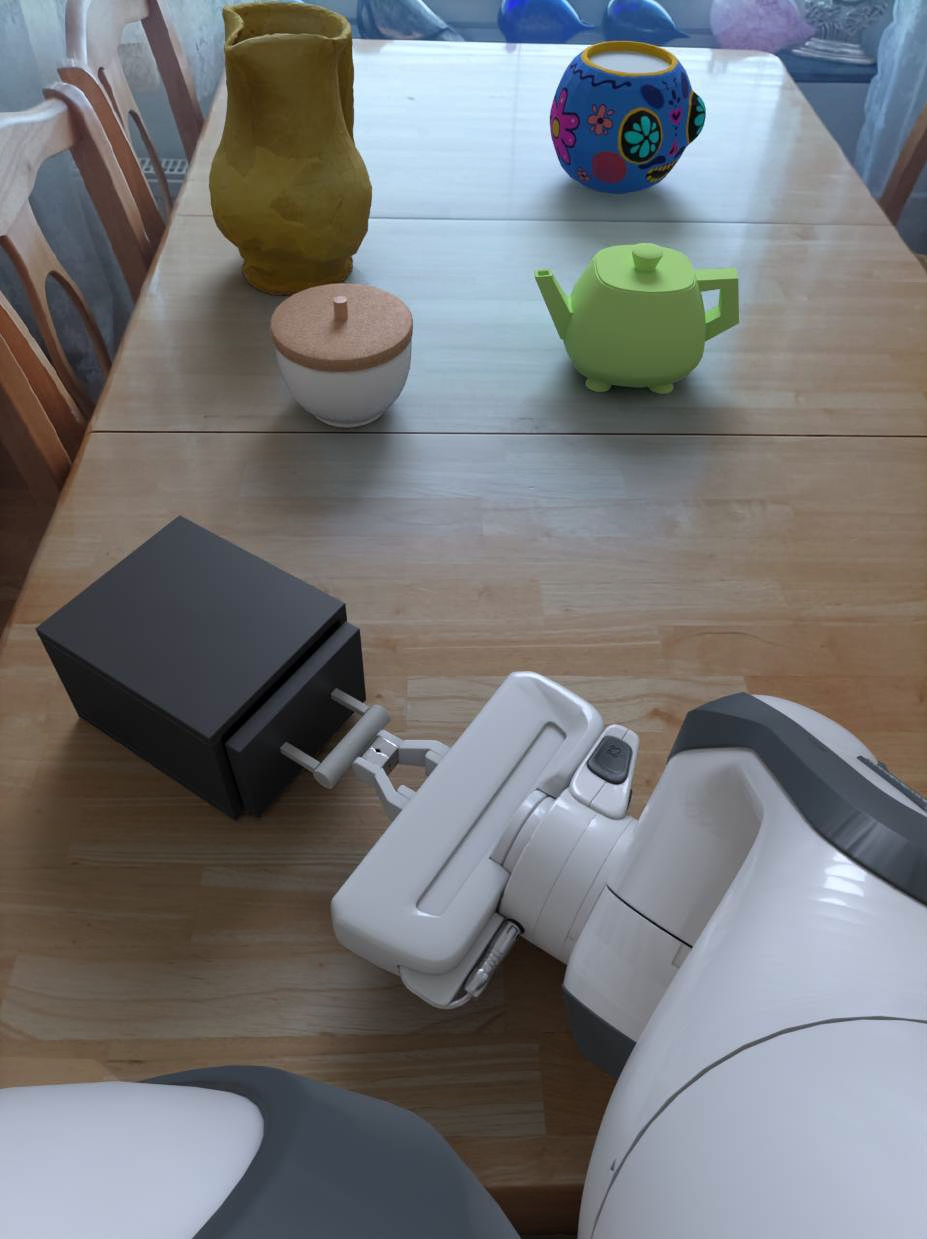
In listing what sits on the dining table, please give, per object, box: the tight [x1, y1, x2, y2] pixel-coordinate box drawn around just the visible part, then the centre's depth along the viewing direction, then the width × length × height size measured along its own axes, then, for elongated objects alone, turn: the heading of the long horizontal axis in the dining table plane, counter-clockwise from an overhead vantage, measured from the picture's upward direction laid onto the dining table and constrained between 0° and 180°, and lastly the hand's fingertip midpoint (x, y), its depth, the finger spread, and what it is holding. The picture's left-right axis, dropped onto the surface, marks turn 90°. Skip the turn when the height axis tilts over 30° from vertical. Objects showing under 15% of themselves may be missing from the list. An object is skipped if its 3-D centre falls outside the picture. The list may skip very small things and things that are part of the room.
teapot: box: [533, 242, 740, 395], centre depth 90 cm, size 20×13×13 cm
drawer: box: [220, 620, 392, 820], centre depth 61 cm, size 18×11×8 cm, turn 57°
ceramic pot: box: [549, 40, 707, 195], centre depth 116 cm, size 18×18×15 cm
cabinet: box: [34, 514, 348, 822], centre depth 63 cm, size 15×13×10 cm
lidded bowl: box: [269, 282, 414, 429], centre depth 85 cm, size 13×13×11 cm
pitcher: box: [208, 0, 373, 296], centre depth 97 cm, size 17×19×25 cm
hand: (366, 751), depth 58 cm, fingers closed
